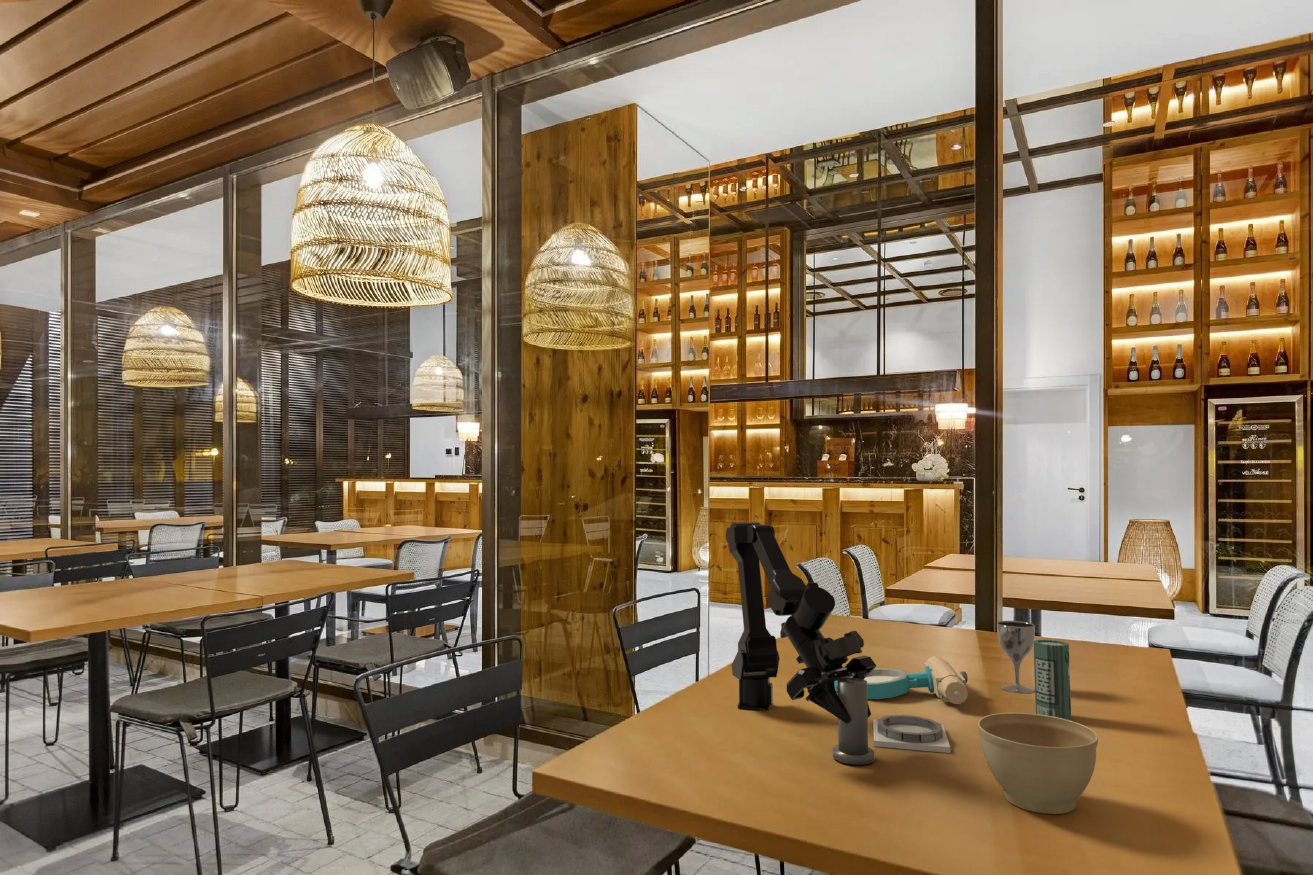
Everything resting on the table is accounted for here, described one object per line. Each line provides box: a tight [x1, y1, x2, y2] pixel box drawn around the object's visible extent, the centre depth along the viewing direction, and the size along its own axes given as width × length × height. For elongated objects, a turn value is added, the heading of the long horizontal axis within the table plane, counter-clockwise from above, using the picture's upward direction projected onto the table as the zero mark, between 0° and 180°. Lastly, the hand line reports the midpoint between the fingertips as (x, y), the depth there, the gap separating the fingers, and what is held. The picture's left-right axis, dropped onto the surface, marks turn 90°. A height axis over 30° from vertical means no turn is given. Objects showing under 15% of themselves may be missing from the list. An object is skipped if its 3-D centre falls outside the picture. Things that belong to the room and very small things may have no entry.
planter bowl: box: [977, 712, 1099, 815], centre depth 114 cm, size 16×16×11 cm
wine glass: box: [996, 620, 1036, 694], centre depth 176 cm, size 8×8×15 cm
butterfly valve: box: [834, 655, 969, 705], centre depth 172 cm, size 27×7×30 cm
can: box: [1033, 639, 1072, 721], centre depth 155 cm, size 6×6×15 cm
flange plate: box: [872, 714, 951, 754], centre depth 142 cm, size 13×13×2 cm
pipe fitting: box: [832, 678, 875, 766], centre depth 132 cm, size 7×7×13 cm
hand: (859, 719), depth 131 cm, fingers closed on pipe fitting, 5 cm apart
